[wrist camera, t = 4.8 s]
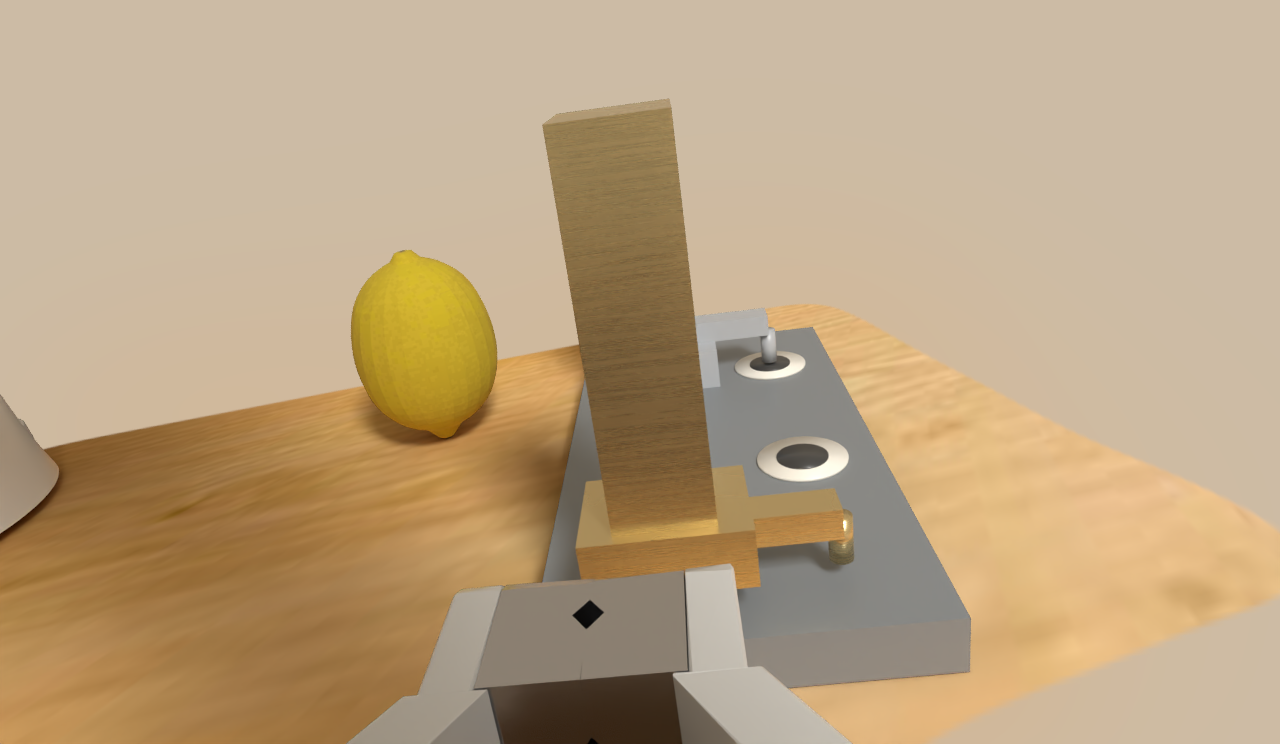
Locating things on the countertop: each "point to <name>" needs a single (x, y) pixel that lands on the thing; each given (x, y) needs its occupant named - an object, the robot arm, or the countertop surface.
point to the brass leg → (654, 367)
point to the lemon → (423, 344)
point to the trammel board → (794, 462)
